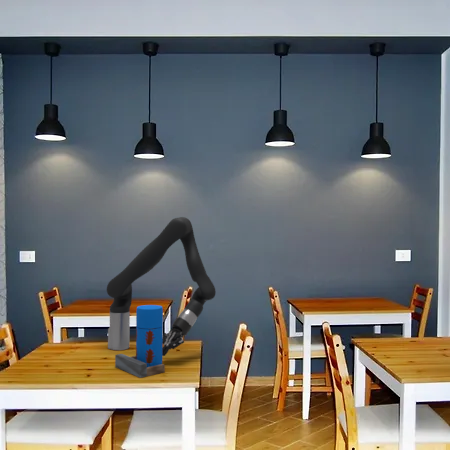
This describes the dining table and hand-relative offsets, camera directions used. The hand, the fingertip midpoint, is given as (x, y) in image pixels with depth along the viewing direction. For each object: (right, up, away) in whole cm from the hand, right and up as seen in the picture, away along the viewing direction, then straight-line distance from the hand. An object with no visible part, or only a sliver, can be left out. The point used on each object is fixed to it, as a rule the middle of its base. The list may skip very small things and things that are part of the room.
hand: (161, 354), depth 224 cm
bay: (-8, -4, -7) cm, 12 cm away
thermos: (-5, -5, -4) cm, 7 cm away
